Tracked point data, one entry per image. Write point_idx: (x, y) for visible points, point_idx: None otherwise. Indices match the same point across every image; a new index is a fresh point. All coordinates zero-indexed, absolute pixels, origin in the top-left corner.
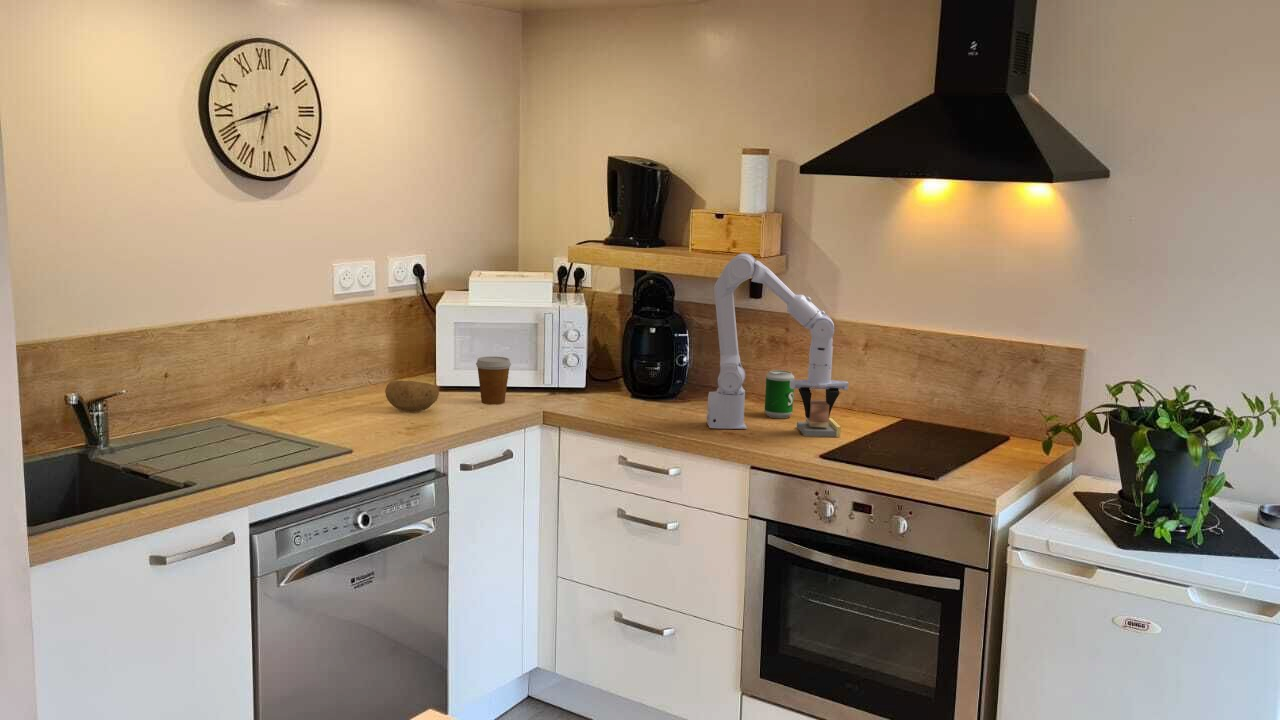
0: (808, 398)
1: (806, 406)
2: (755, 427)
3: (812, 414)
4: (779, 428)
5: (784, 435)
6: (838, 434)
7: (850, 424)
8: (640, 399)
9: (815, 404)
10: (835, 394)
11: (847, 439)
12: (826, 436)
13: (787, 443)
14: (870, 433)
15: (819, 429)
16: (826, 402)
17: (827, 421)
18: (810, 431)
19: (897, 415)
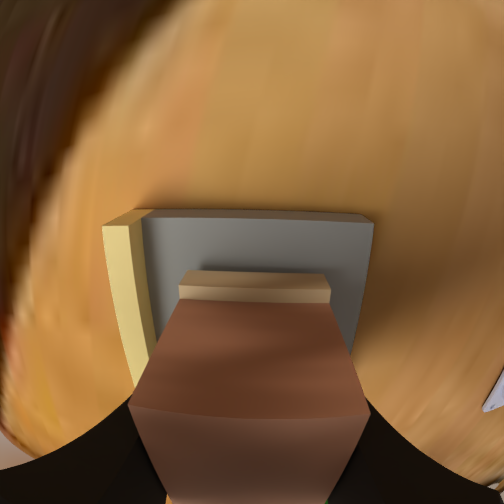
0: (408, 486)
1: (386, 421)
2: (483, 364)
3: (329, 340)
4: (413, 371)
5: (453, 239)
6: (136, 212)
7: (92, 421)
8: (500, 478)
9: (310, 433)
10: (16, 493)
11: (102, 158)
12: (216, 209)
13: (473, 67)
14: (14, 296)
15: (255, 263)
16: (161, 480)
17: (185, 301)
18: (333, 221)
19: (20, 447)
